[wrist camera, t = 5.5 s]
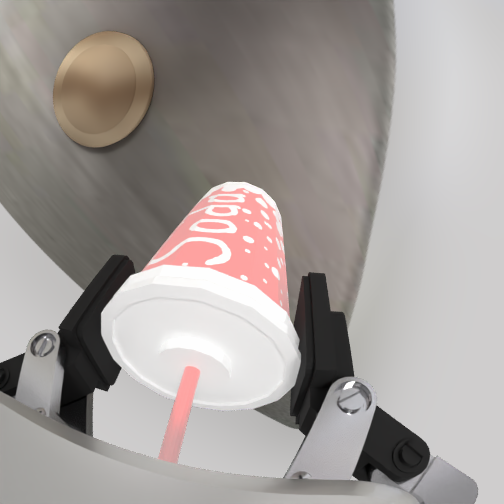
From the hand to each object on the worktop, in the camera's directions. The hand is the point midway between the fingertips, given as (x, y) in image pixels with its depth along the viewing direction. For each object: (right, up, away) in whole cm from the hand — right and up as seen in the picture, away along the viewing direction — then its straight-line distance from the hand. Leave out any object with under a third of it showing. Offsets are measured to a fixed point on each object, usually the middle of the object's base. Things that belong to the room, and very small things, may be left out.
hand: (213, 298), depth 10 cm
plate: (-12, +16, +10) cm, 22 cm away
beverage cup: (+1, +3, +5) cm, 6 cm away
